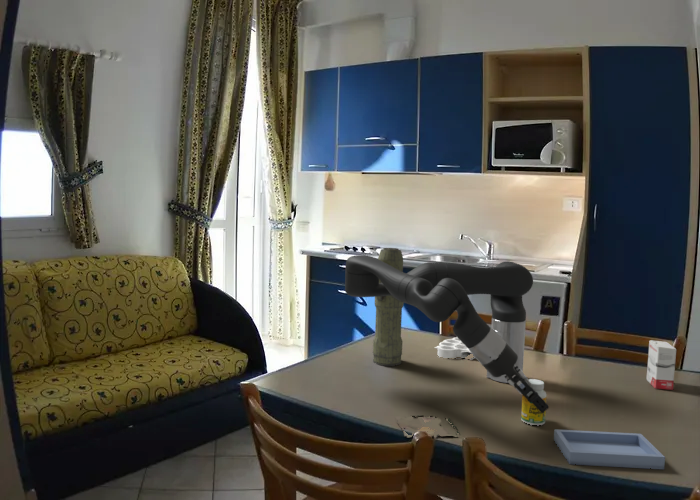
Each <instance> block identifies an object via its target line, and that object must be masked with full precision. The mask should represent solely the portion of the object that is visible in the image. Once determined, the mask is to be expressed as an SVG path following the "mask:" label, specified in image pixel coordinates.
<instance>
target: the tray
mask: <svg viewBox="0 0 700 500" xmlns="http://www.w3.org/2000/svg"><path fill="white" fill-rule="evenodd" d="M554 441H555V442H554ZM553 442H554V444H555V445H556V444H557V445H556V446H557V448H558V447H559V448H558V450H559V451H560V450H561V451H560V453H561V454H562V453H563V454H562V456H563V457H564V459H565V460H566V459H567V460H566V461H567V463H568V465H575V464H576V465H575V466H577V465H578V466H592V467H593V466H595V467H597V466H598V467H613V468H614V467H615V468H633V469H649V470H650V468H651V469H653V470H665V461H666V456H664V455H663V454H662V452H660V450H658V449H657V448H656V447H655V445H653V444H652V443H651V442H650V441H649V440H648V439H647V438H646V437H645V436H644V435H643V434H642V433H635V432H633V433H632V432H616V431H615V432H614V431H613V432H611V431H594V430H593V431H592V430H579V429H577V430H576V429H573V430H572V429H554V431H553Z"/></svg>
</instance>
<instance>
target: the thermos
mask: <svg viewBox="0 0 700 500" xmlns="http://www.w3.org/2000/svg"><path fill="white" fill-rule="evenodd" d="M377 259H379V260H381V261H383V262H384V263H386V264H388V265H390V266H392V267H394V268H395V269H397V270H399V271H401V272H404V271H403V270H404V257H403V253H402V250H401V249H399V248H397V247H384V248H382V249H380V251H379V254H378V257H377ZM379 283H382V282H381V281H380V279H379ZM404 305H405V303H404V302H401V301H399V300H397V299H396V298H395V297H393V296H378V297H374V307H375V329H374V333H375V334H374V338H373V340H372V355H373V357H372V362H373V363H374V364H375V363H376V364H375V365H379V366H382V365H383V366H384V367H395V365H396V366H399V365H401V364H402V355H403V339H402V319H403V318H402V317H403V314H402V313H403V307H404Z"/></svg>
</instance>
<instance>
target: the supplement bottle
mask: <svg viewBox="0 0 700 500" xmlns="http://www.w3.org/2000/svg"><path fill="white" fill-rule="evenodd" d="M528 380H529V381H530V382H531V383H532V388H533V389H534V390H535V391H536V392H538V395H539V396H540V397H541V398H542V399H543V400H544V401H545V402H546V403H547V396H548V395H547V392H546V390H544V388H545V383H544V381H543V380H540V379H534V378H529V379H528ZM527 384H528V383H527ZM532 393H533V392H532V391H530V392H529V393H528V394H527V395H528V396H529V395H531V394H532ZM521 395H522V394H521ZM546 411H547V410H546ZM546 411H544V412H543V413H542V412H540V411H539V409H538V408H537V407H536V406H535V405H534V404H533V403H532V402H531V403H530V402H529V401H528V400H527V399H526V398H525V397H524V396H523V395H522V397H521V414H520V416H521V417H520V419H521V421H523V423H524V422H525V423H527V424H526V425H528V424H530V425H529V426H532V425H537V426H536V427H539V425H541V426H543V425H545V423H546V413H547V412H546ZM525 423H524V424H525Z"/></svg>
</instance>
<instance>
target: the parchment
mask: <svg viewBox="0 0 700 500" xmlns="http://www.w3.org/2000/svg"><path fill="white" fill-rule="evenodd" d="M411 416H412V417H415V416H416V417H415V418H417V417H423V418H422V419H423V420H424V422H425V423H426V422H429V421H430V422H431V420H435V417H437V416H436V415H434V416H435V417H433V415H429V416H430V418H425V417H424V416H425V415H411ZM447 418H448V417H447ZM448 421H449V422H450V421H451V418H448ZM451 422H452V424H450V426H451V425H454V422H453V421H451ZM451 422H450V423H451ZM421 427H422V426H421ZM453 427H455V428H456V429H457V430H458V428H457V426H455V425H454V426H453ZM428 428H429V427H422V428H421V429H420V430H418V431H426V432H427V431H428V432H427V433H428V434H430V435H431V436H432V435H433V434H434V432H435V431H434V430H435V429H434V430H432V429H431V430H430V428H429V429H428ZM401 430H402V432H403V437H405V438H412V436H413V434H414V433H412V435H408V434H407V433H406V432H405V431H403V429H401ZM436 431H437V430H436ZM458 431H459V430H458ZM458 431H456V432H457V433H459V434H460V431H459V432H458ZM438 435H439V434H437V437H439V436H440V435H439V436H438ZM413 437H414V436H413ZM433 437H434V435H433V436H432V438H433Z"/></svg>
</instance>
